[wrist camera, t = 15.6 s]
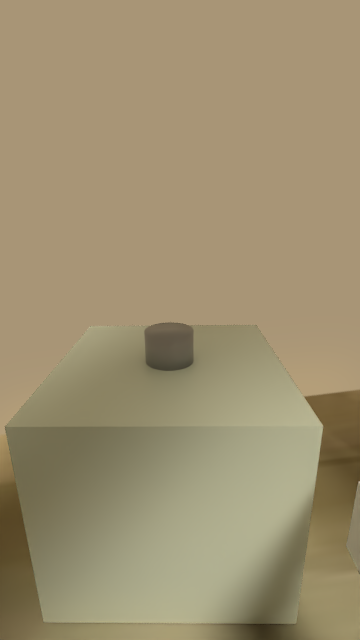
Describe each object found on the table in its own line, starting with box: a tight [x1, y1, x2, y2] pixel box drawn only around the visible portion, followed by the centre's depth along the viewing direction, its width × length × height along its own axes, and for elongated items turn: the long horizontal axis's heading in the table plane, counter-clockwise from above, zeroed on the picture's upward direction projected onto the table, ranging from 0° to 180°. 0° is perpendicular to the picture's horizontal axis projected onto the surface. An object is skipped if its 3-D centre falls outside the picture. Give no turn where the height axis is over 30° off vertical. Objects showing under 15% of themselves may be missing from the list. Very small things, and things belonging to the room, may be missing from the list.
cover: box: [5, 323, 323, 624], centre depth 18 cm, size 11×11×12 cm
